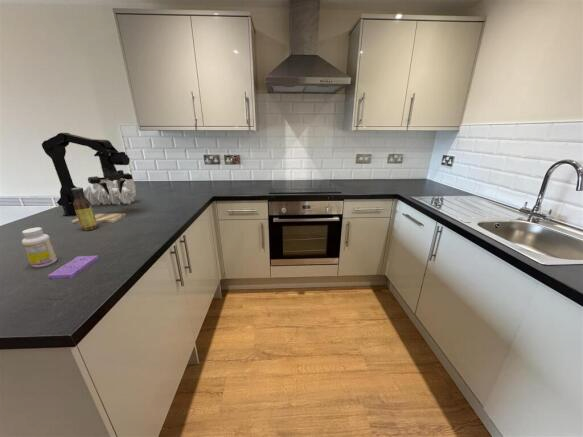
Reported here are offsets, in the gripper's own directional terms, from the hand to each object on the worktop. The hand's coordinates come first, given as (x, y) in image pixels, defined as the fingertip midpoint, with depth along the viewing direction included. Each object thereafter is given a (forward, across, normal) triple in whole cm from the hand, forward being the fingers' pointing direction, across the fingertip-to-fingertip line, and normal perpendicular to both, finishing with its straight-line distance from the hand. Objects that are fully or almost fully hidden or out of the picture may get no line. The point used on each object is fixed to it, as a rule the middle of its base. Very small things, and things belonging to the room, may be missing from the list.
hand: (114, 193), depth 131 cm
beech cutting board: (+12, -9, -1) cm, 15 cm away
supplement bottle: (+12, -35, -41) cm, 56 cm away
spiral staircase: (+12, +6, +26) cm, 29 cm away
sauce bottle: (+12, -16, -13) cm, 24 cm away
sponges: (+13, -29, -53) cm, 62 cm away
